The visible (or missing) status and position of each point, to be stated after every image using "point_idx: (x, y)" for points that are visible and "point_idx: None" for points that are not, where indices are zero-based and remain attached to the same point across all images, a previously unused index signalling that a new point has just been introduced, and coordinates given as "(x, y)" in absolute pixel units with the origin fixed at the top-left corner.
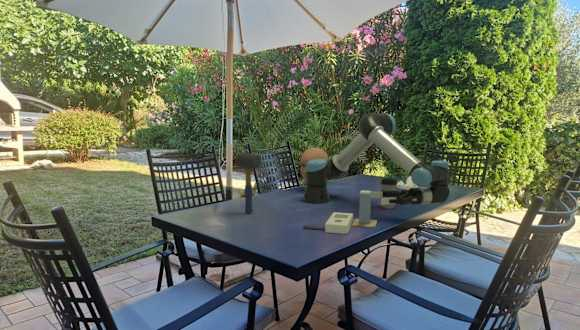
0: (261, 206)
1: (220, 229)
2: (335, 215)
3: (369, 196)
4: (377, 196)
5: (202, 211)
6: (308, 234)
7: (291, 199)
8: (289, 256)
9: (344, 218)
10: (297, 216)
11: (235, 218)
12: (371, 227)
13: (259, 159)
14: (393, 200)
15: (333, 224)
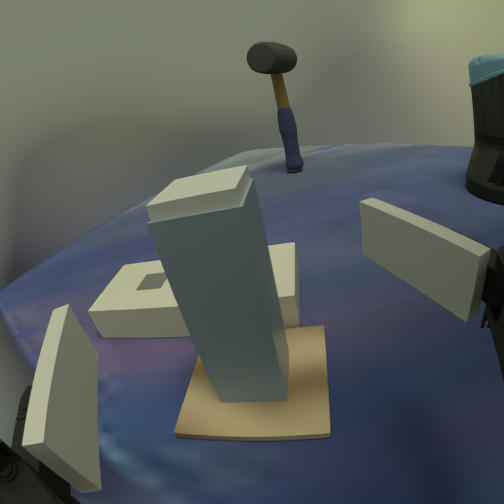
0: (362, 163)
1: None
2: None
3: (154, 237)
4: (423, 280)
5: None
6: None
7: (463, 168)
8: (26, 280)
9: None
10: (303, 210)
11: (251, 175)
12: (183, 417)
13: (267, 51)
14: (19, 419)
15: (113, 280)
